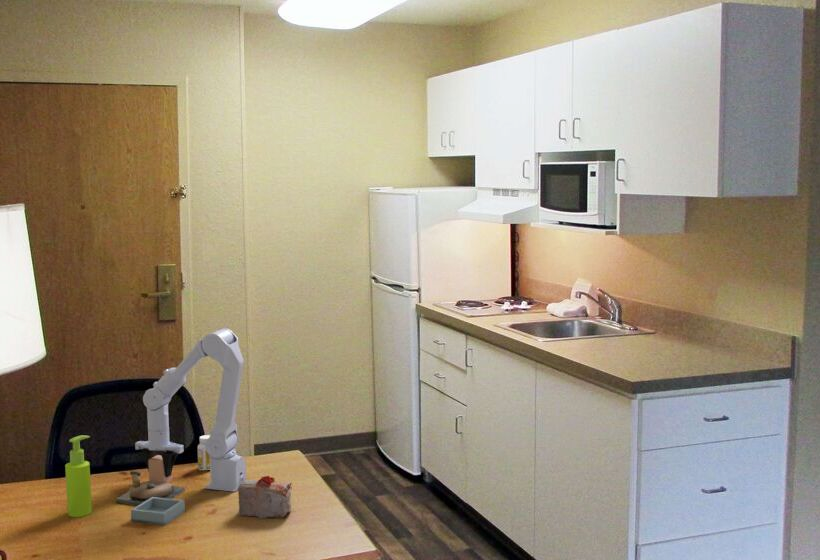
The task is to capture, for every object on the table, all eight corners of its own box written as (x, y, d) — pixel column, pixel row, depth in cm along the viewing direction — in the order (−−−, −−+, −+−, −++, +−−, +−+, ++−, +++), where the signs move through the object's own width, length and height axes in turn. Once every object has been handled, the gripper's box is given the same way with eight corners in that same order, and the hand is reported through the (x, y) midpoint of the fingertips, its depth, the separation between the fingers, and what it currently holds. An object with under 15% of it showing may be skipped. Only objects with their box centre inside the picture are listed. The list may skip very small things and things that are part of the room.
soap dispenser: (99, 509, 235) (96, 435, 233) (80, 518, 229) (75, 442, 226) (82, 506, 237) (79, 432, 235) (62, 515, 231) (58, 439, 229)
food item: (296, 509, 234) (295, 473, 233) (287, 521, 226) (286, 483, 225) (245, 507, 236) (244, 471, 235) (235, 518, 228) (234, 481, 227)
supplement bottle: (219, 465, 269) (218, 434, 268) (213, 471, 264) (212, 439, 263) (201, 465, 270) (200, 434, 269) (195, 471, 264) (194, 439, 263)
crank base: (184, 490, 248) (184, 486, 248) (158, 507, 236) (158, 503, 236) (144, 486, 252) (143, 482, 252) (116, 502, 240) (115, 498, 240)
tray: (185, 511, 233) (184, 500, 233) (164, 525, 224) (164, 513, 223) (152, 507, 236) (152, 496, 235) (131, 521, 227) (130, 509, 226)
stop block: (172, 480, 257) (171, 456, 256) (163, 485, 253) (162, 461, 252) (158, 478, 258) (157, 455, 258) (149, 483, 254) (148, 459, 253)
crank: (179, 486, 247) (178, 468, 247) (157, 500, 237) (156, 481, 236) (142, 483, 251) (141, 465, 250) (119, 496, 240) (118, 477, 240)
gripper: (128, 430, 252) (130, 477, 254) (173, 434, 248) (175, 482, 249) (142, 424, 259) (144, 469, 260) (186, 427, 255) (188, 474, 256)
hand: (160, 475), depth 255 cm, fingers closed on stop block, 4 cm apart
